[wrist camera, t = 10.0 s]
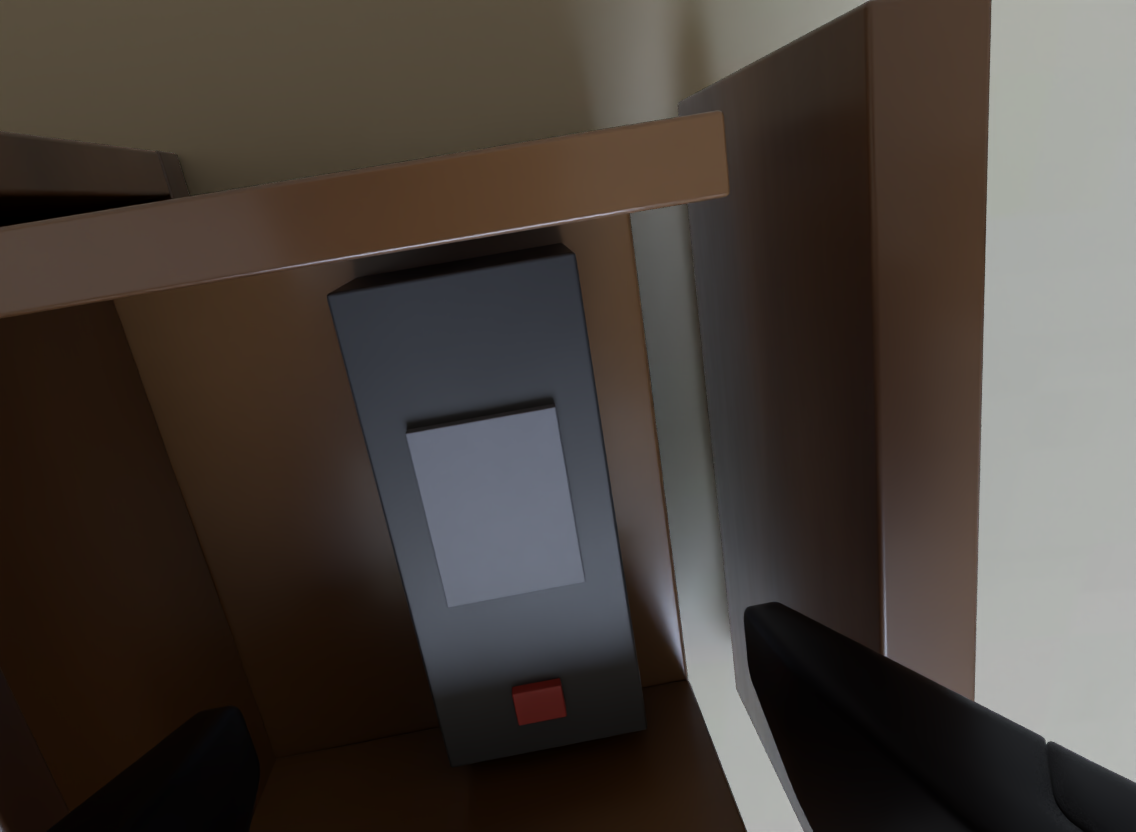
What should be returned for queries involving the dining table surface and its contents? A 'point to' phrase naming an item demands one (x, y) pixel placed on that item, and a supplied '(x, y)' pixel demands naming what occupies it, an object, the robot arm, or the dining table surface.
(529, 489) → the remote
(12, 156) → the cabinet
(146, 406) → the drawer
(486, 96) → the dining table surface
